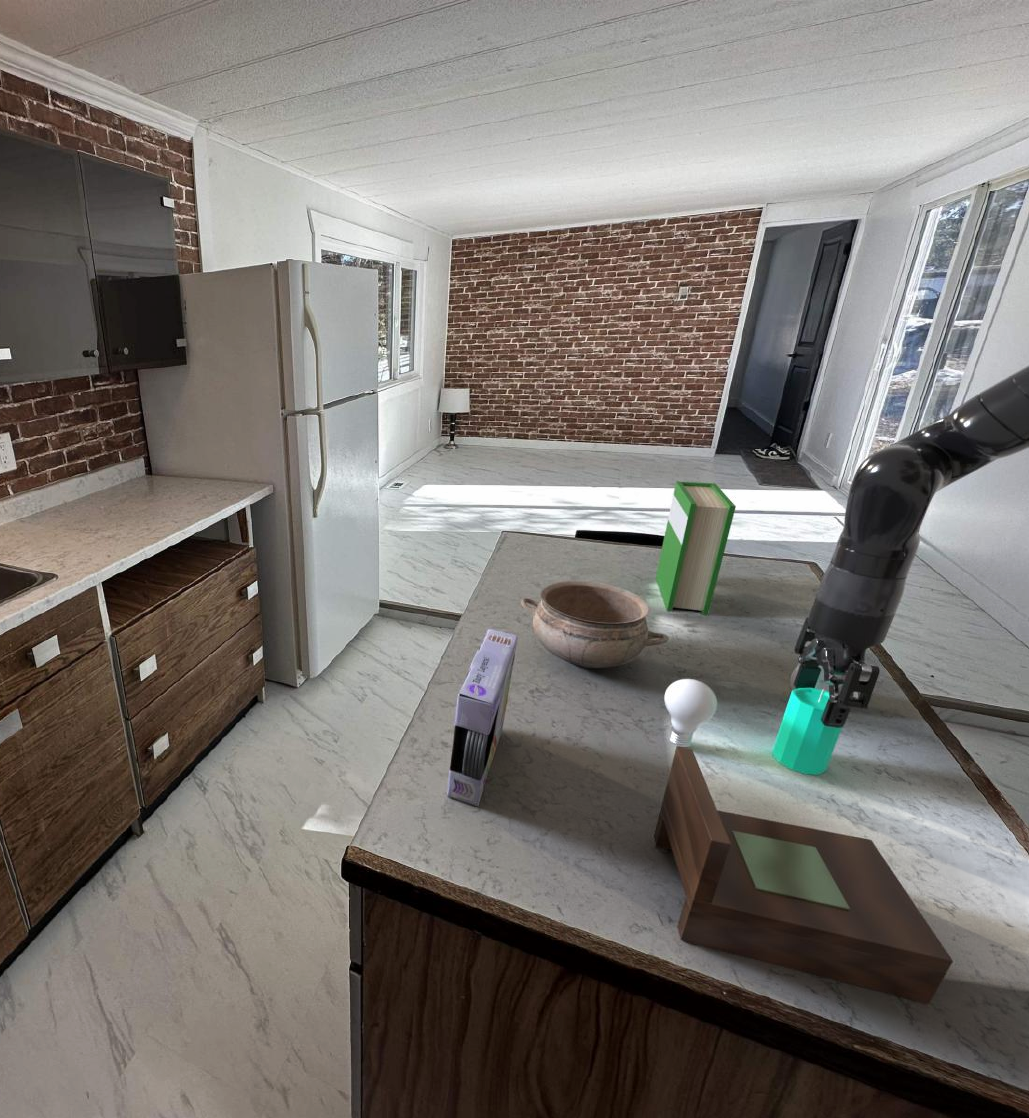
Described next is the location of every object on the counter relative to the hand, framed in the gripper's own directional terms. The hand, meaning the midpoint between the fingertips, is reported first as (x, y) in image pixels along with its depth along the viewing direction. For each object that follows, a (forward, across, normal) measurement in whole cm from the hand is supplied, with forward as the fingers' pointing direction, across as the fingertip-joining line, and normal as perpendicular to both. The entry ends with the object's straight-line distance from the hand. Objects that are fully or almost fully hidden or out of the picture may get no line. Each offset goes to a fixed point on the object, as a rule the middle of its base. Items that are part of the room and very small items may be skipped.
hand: (816, 706), depth 81 cm
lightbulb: (+10, -1, +15) cm, 18 cm away
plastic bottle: (+10, +18, -8) cm, 22 cm away
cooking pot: (+10, +21, +26) cm, 35 cm away
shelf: (+9, -28, +12) cm, 32 cm away
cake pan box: (+10, -14, +43) cm, 46 cm away
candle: (+10, 0, 0) cm, 10 cm away
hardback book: (+10, +55, +2) cm, 56 cm away
